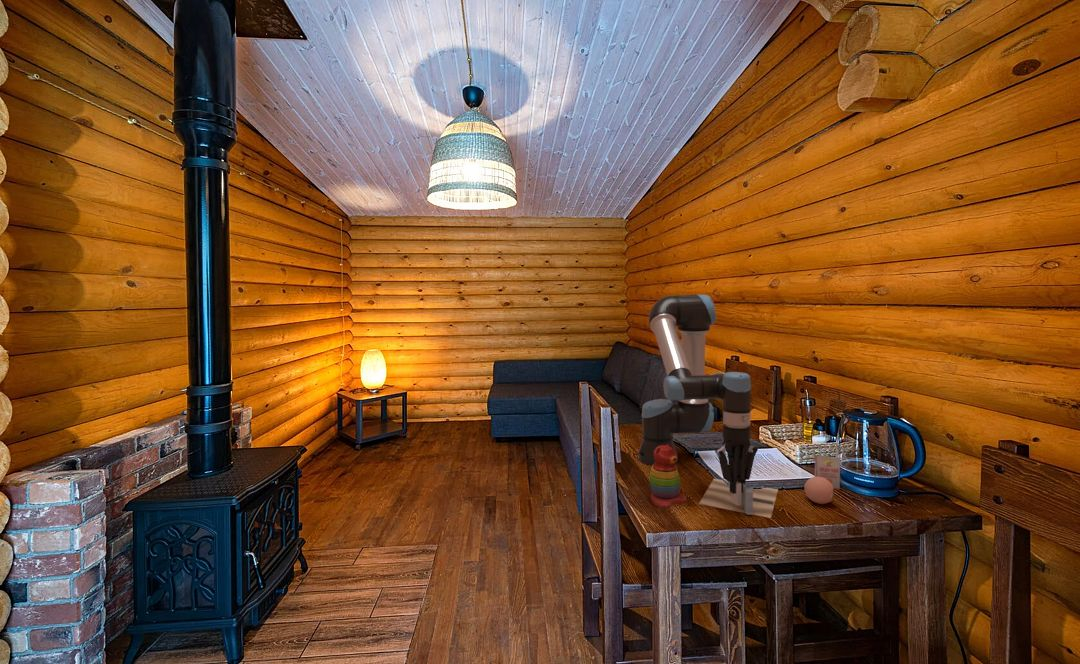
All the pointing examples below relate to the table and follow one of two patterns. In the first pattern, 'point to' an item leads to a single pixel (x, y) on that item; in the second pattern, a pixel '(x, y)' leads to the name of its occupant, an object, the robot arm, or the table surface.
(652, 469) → the stacking bear
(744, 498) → the gray castle wall
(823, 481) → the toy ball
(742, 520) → the table surface
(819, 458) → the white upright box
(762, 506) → the board
